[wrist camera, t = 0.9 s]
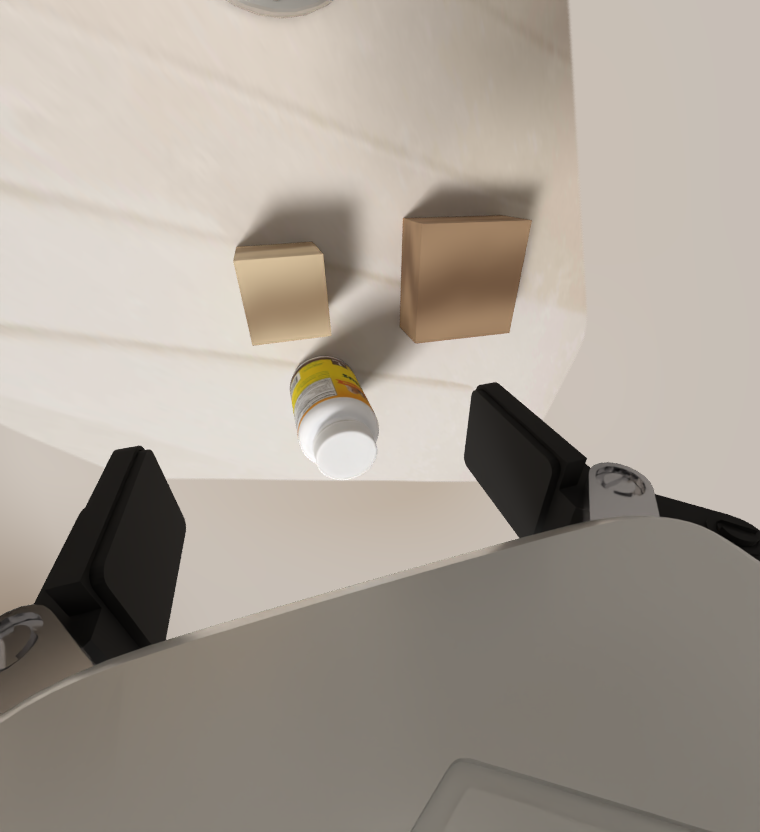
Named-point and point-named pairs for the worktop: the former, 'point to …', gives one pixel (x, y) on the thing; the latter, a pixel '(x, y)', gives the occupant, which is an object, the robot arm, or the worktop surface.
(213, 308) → the worktop surface
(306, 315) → the oak cube
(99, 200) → the worktop surface
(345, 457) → the supplement bottle
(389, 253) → the worktop surface
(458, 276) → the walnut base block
